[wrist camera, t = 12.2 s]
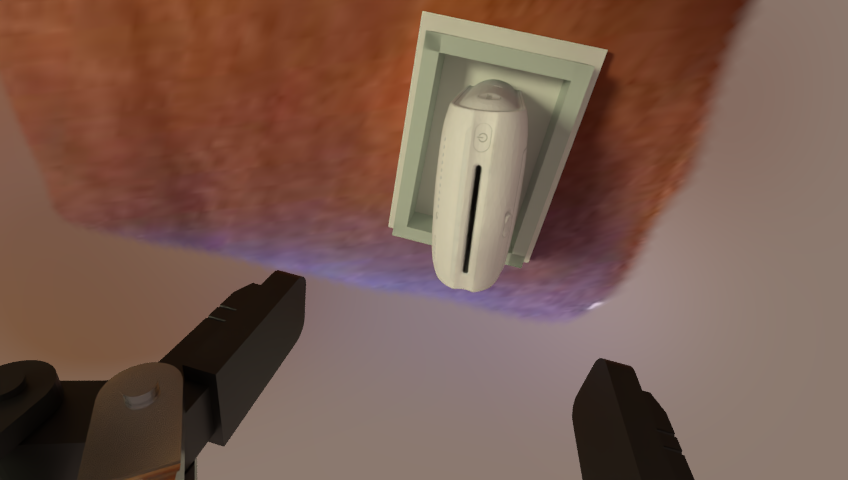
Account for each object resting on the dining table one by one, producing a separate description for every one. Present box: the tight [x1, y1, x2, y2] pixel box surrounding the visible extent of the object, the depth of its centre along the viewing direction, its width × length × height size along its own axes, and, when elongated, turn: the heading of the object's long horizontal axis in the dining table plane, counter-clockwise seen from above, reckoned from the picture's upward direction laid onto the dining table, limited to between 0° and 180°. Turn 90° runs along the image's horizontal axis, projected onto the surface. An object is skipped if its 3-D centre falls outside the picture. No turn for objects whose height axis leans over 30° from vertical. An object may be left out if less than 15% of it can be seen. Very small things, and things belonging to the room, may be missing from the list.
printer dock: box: [388, 11, 608, 268], centre depth 28 cm, size 16×12×4 cm
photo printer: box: [432, 79, 528, 292], centre depth 23 cm, size 10×4×12 cm, turn 176°
